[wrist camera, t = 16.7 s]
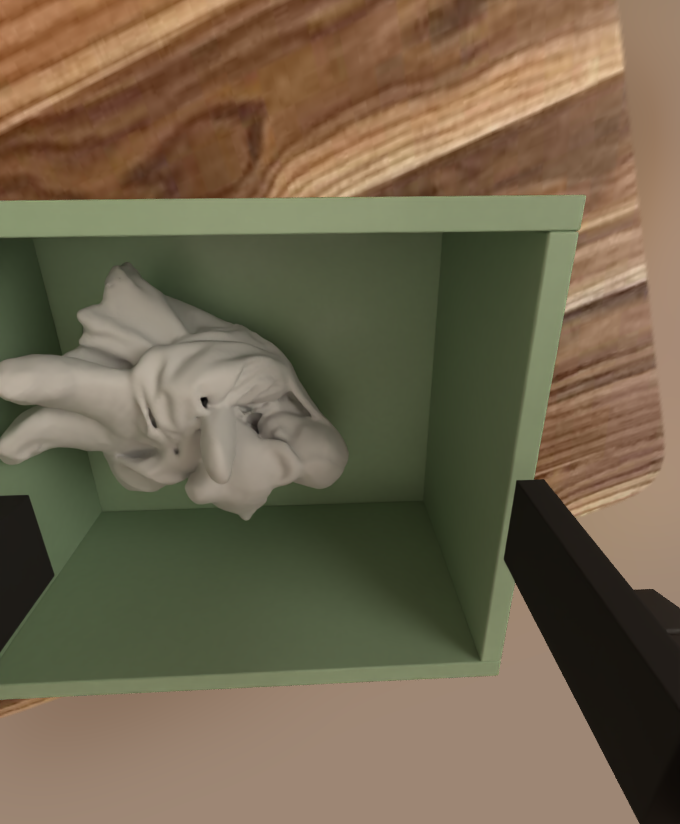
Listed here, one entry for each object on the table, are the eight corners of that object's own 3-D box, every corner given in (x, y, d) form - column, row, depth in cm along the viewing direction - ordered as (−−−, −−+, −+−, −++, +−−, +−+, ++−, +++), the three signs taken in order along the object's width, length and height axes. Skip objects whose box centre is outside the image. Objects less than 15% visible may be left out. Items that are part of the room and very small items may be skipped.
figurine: (-102, 388, 13) (239, 653, 15) (171, 195, 17) (401, 423, 19) (-25, 437, 20) (194, 609, 22) (151, 294, 24) (319, 450, 27)
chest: (457, 197, 22) (587, 194, 11) (432, 503, 28) (499, 676, 18) (15, 202, 21) (-279, 203, 11) (97, 514, 28) (-34, 702, 17)
